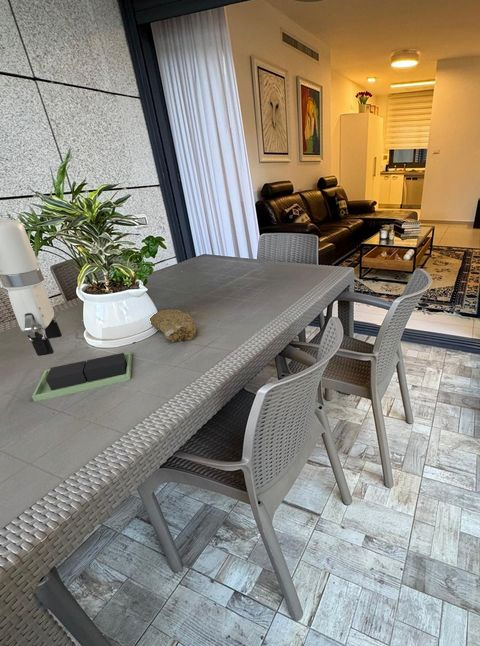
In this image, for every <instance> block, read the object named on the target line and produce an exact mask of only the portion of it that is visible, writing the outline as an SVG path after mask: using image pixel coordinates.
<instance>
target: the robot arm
mask: <svg viewBox="0 0 480 646" xmlns="http://www.w3.org/2000/svg"><path fill="white" fill-rule="evenodd" d="M44 277H45V276H44V275H43V272H42V270H41V267H40V264H39V262H38V260H37V256H36V254H35V251H34V249H33V247H32V244H31V242H30V239H29V237H28V234H27V231H26V229H25V226H24V225H23V223H22V222H21V221H18V220H16V219H8V218H7V219H0V282H1V285H2V287H3V289H4V290H6V291H7V294H8V295H7V296H8V299H9V302H10V305H11V308H12V310H13V313H14V316H15V319H16V321H17V324H18V326H19V328H20V330H21V331H22V332H25V333H26V334H27V337H28V338H29V341H30V343H31V344H32V347H33V349H34V351H35V354H36V355H37V356H38V357H41V356H48V355H53V354H54V352H55V351H54V348H53V346H52V343H51V339H57V338H61V337H62V336H63V334H62V331H61V328H60V326H59V324H58V321H57V318H56V317H55V311H54V307H53V305H52V302H51V299H50V297H49V295H48V293H47V291H46V289H45V286H44V284H45V282H46V279H45V278H44ZM38 331H40V332H38Z"/></svg>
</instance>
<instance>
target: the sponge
mask: <svg viewBox="0 0 480 646" xmlns="http://www.w3.org/2000/svg"><path fill="white" fill-rule="evenodd" d="M155 313H156V312H155ZM153 314H154V313H153ZM150 321H151V325H152V326H151V325H150V326H151V327H152V328H154V329H155V330H157V331H159V332H161V333H162V334H163V336H164V337H165V339H166V340H168V341H170V342H171V343H177V342H178V343H179V342H183V341H191V340H192V339H194V338H195V336H196V333H197V327H196V323H195V321H194V319H193V317H192V316H191V315H189V314H188V313H186V312H183V311H181V310H179V309H169V308H168V309H162V310H159V311H157V313H156V314H154V315H153V316H152V317H151V318H150Z"/></svg>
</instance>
